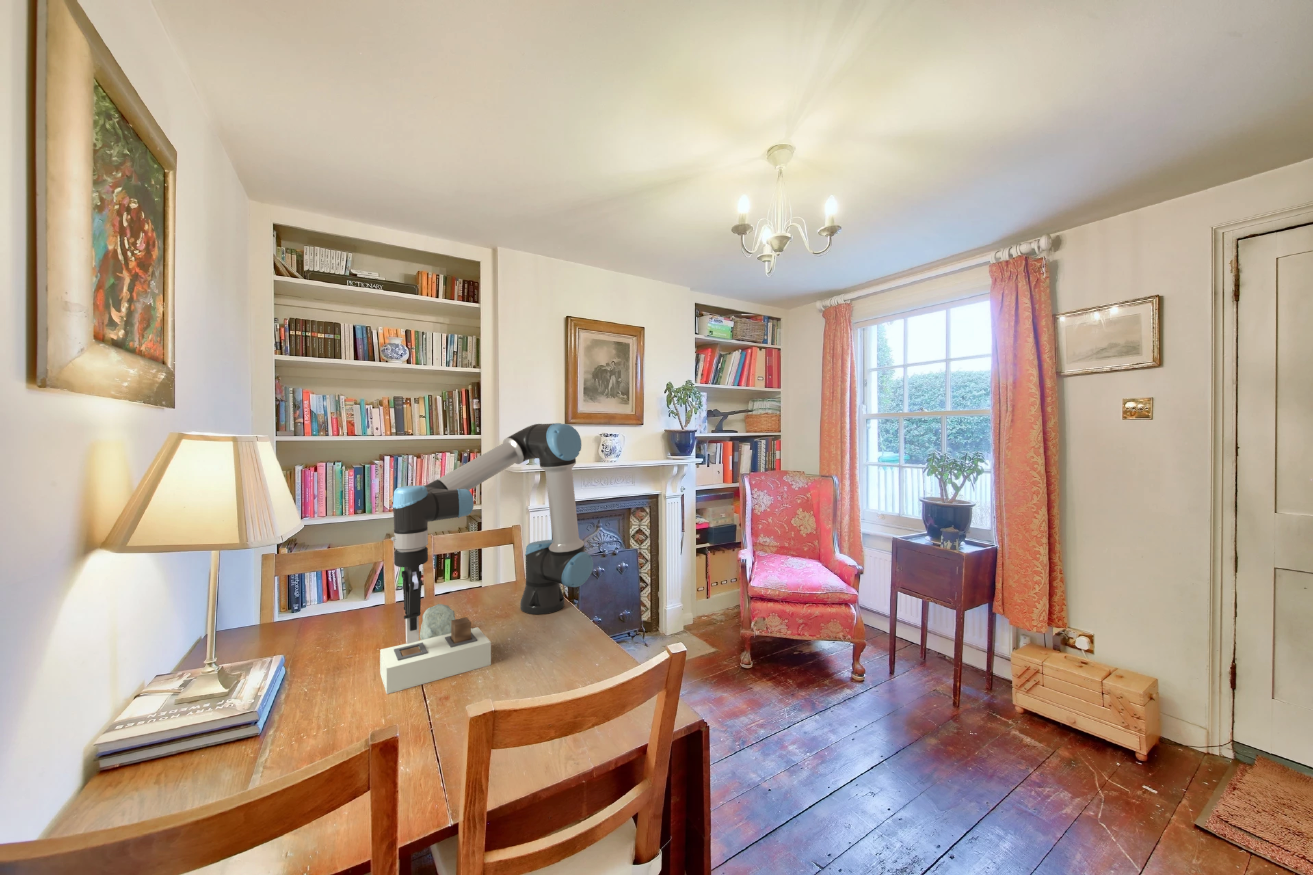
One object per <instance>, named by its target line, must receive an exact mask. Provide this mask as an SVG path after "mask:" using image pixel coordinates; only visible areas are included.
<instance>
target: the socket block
mask: <svg viewBox="0 0 1313 875" xmlns="http://www.w3.org/2000/svg"><path fill="white" fill-rule="evenodd" d="M415 647H419V649H420V651H421V652H418V653H414V654H410V655H406V656H402V655H401V651H402V650H406V649H410V648H415ZM379 652H380V653H379V664H380V665H379V668H380V669H379V673H380V677H381V682H382V683H383V686H384V690H385V693H386V695H388V694H389V695H390V694H392V693H396V692H399V691H400V692H401V691H403V690H407V689H410V688H414V687H417V686H420V685H425V684H427V683H431V682H436V681H439V680H441V679H445V678H450V677H452V676H455V675H460V674H464V673H467V672H471V671H475V670H478V669H482V668H485V667H489V666H491V665H492V642H491V640H490V639H489V638H488V637H487V636H486V635H485V633H483V631H482V630H481V629H480V628H479V627H478V626H476V627H473V628H472V627H471V640H467V641H463V642H459V643H455V644H454V643H453V642H452V640H451V633H450V634H446V635H441V636H437V637H433V638H428V639H424V640H421V639H419V641H417V642H413V643H409V644H407V643H402V644H400V645H394V646H390V647H385V648H381V649H380V650H379Z"/></svg>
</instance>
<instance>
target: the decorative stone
mask: <svg viewBox="0 0 1313 875" xmlns="http://www.w3.org/2000/svg"><path fill="white" fill-rule="evenodd" d="M455 616H456V615H455V611H454V610H453V609H452V608H451V607H450V606H449V605H446V604H444V603H438V604H435V605H434V606H430V607H428V608H427V609H425V611H424V612H423V614H422V621H421V624H420V629H419V640H424V639H428V638H433V637H437V636H441V635H446V634H450V633H451V620H456V617H455Z"/></svg>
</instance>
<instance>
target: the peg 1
mask: <svg viewBox="0 0 1313 875" xmlns="http://www.w3.org/2000/svg"><path fill="white" fill-rule="evenodd" d="M418 652H421V651H420V649H419V647H415V648H410V649H406V650H402V651H401V655H402V656H406V655H410V654H414V653H418Z"/></svg>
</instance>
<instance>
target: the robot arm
mask: <svg viewBox="0 0 1313 875" xmlns="http://www.w3.org/2000/svg"><path fill="white" fill-rule="evenodd" d="M581 451H582V439H581V436H580V434H579V431H578V430H577V429H576V428H575V427H573V425H570V424H566V423H560V422H555V423H553V422H552V423H535V424H531V425H529V426H526V427H524V428H523V429H520V430H518V431H516V432H515V433H513V434H511V435H509V436H508V437H505V438H504V439H503V441H502V443H501V444H500V445H498V446H495V447H493V448H492V449H490V450H488V451H487V452H485V453H483V454H481V455H479V456H478V457H476V458H474V459H472V460H470V461H468V462H466V463H465V464H463V465H461V466H459V467H458V468H456V469H454V470H452V471H450V472H448V473H446V474H444V475H443V476H441V477H439V478H438V479H435V480H433V481H432V482H430V483H428V484H426V485H423V484H422V485H404V486H399V487H397V488H396V489H395V490H394V491H393V500H392V501H393V502H392V510H393V536H392V537H391V538H390V539H391V542H393V545H394V546H393V548H394V549H395V550H394V551H393V561H394V563H393V564H394V566H395V567H398V568H403V569H404V570H402V571H401V578H402V588H403V589H402V590H403V610H404V613H405V615H404V616H403V619H404V620H405V644H409V643H413V642H417V641H420V628H419V626H420V622H419V620H420V619H419V617H420V616H421V613H422V612H421V608H422V607H421V605H422V602H421V601H422V597H421V596H422V588H423V587H422V586H423V580H421V579H422V570H420V568H419V566H421V565H424V564H426V563H427V562H428V561H429V549H428V545H429V529H428V526H429V525H428V523H429V522H434V521H442V520H448V519H455V518H456V519H459V518H462V517H467V516H469V515H470V514H471V513H472V512H473V510H474V506H475V505H474V502H475V501H474V496H473V494H472V492H471V491H470V490H473V489H474V488H476V487H477V486H479V485H480V484H482V483H484V482H485V481H488V480H489V479H490V478H492V477H494V476H496V475H497V474H499V473H501V472H503V471H504V470H506V469H508V468H509V467H511V466H513V465H514V464H517V465H520V464H522V463H524V462H526V461H528V460H532V459H533V460H534V459H538V460H539V462H538V463H539V468H540V469H542V470H543V471H544V472H545V481H546V488H547V489H546V490H547V497H548V498H547V499H548V508H549V509H548V511H549V518H550V525H551V526H550V527H551V537H552V539H545V540H538V541H537V540H536V541H533V542H529V543H528V544H527V545H526V546H525V547H526V548H525V555H524V556H525V587H524V591H523V593H522V596H521V599H520V603H519V604H520V609H519V610H521V611H522V612H523V613H526V614H531V615H545V614H551V613H555V612H557V611H560V610H562V609H563V608H564V607H565V597H564V593H563V590H562V587H561V585H562V586H564V587H571V588H578V587H580V586H583V585H584V584H585V583H586V582H587V581H588V579H589V577H590V576H591V575H592V573H593V569H594V560H593V557H592V555H590V553H588V552H586V549H585V542H584V540H582V539H581V538H580V535H579V526H578V516H577V514H578V513H577V506H576V496H575V486H574V477H573V467H574V466H575V465H576V464H577V461H576V460H577V459H576V458H577V457H579V455H580V452H581ZM563 606H564V607H563ZM561 608H562V609H561Z"/></svg>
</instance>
